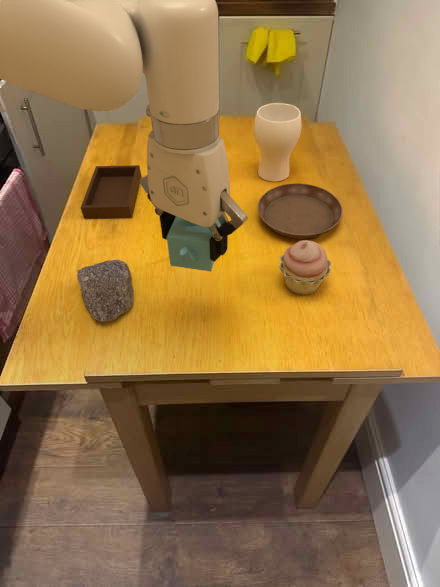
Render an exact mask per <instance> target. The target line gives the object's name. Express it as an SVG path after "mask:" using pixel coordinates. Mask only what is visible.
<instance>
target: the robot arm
mask: <svg viewBox="0 0 440 587" xmlns="http://www.w3.org/2000/svg"><path fill="white" fill-rule="evenodd" d="M219 24H220V23H219V8H218V4H217V2H216V0H0V80H1V81H4V82H6V83H8V84H9V85H13V86H15V87H18V88H19V89H22V90H26V91H28V92H31V93H33V94H37V95H39V96H42V97H45V98H47V99H50V100H52V101H56V102H58V103H61V104H64V105H67V106H70V107H73V108H77V109H81V110H86V111H93V112H109V111H114V110H117V109H119V108H121V107H123V106H125V105H126V104H127V103H129V102H130V101H131V100H133V98H134V96H135V95H136V94H137V92H138V90H139V89H140V86H141V82H142V79H143V74H144V77H145V78H144V79H145V85H146V91H147V99H148V105H147V106H146V109H145V114H146V116H147V117H150V121H151V130H150V132H148V135H147V145H146V175H144V176H143V177H141V179H140V181H139V182H140V186H141V188H142V189H143V190H144V192H145V194H147V195H146V196H147V199H148V200H149V201H150V203H151V204H152V205H153V206H154V213H155V214H156V215H157V216H159V224H160V230H161V231H160V232H161V238H162V239H163V240H166V241H167V235H168V233H169V231H170V228H171V226H172V224H173V222H174V219H175V217H176V216H177V217H179V218H182V219H184V220H187V221H189V222H192V223H194V224H197V225H199V226H202V227H208V228H209V230H210V232H211V234H212V237H211V238H210V240H209V242H210V259H211V260H212V261H214V263H215V262H217V261H218V259H219V258H220V257H221V256H224V255H225V254H226V252H227V251H228V247H229V246H228V242H229V241H228V238H229V236H230V235H232V234H234V232H236V231H237V230H238V229H239V228H241V226H243V225H244V223H246V222H247V220H248V219H249V217H248V214H247V213H246V212H245V211H244V210H243V209H242V208H241V207H240V205H238V203H237V202H236V201H235V200H234V198H232V197H231V182H230V181H231V180H230V169H229V162H228V156H227V150H226V145H225V141H224V138H222V137H220V49H219V48H220V44H219V42H220V37H219V33H220V31H219V29H220V27H219ZM228 217H229V218H230V220H229V218H228ZM217 219H218V220H219V222H220V224H221V226H220V227H218V226H217V224H216V221H217Z"/></svg>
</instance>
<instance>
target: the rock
mask: <svg viewBox="0 0 440 587" xmlns="http://www.w3.org/2000/svg"><path fill="white" fill-rule="evenodd" d="M131 275H132V274H131V269H130V266H129V265H128V263H126V262H125V261H123V260H120V259H110V260H105V261H101V262H98V263H94V264H93V265H91V264H90V265H87V266H83V267H82V268H79V269H77V270H76V277H77V281H78V285H79V287H80V292H81V297H82V301H83V302H84V305H85V308H86V309H87V310H88V311H89V313H90V315H91V317H92V318H93V319H94V320H95V321H97V322H102V323H108V322H113V321H115V320H117V319H118V318H119V316H121V315H123V314H125V313H126V312H127V311H129V310H130V309H131V307H132V306H133V303H134V302H133V301H134V300H133V298H134V297H133V296H134V288H133V286H132V276H131Z"/></svg>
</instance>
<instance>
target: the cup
mask: <svg viewBox="0 0 440 587" xmlns="http://www.w3.org/2000/svg"><path fill="white" fill-rule="evenodd" d="M301 114H302V113H301V110H300V109H299V108H298V107H297V106H295V105H293V104H289V103H285V102H273V103H272V102H271V103H267V104H263V105H262V106H260V107H259V108H258V109H257V111H256V113H255V118H254V122H253V136H254V140H255V143H256V145H257V147H258V150H259V155H260V161H259V165H258V168H257V174H258V176H259V177H260V178H261V179H263V180H265V181H268V182H281V181H285V180H286V179H287V178H288V177H290V174H291V173H290V171H291V170H290V158H291V154H292V152H293V150H294V148H295V147H296V146H297V143H298V142H299V139H300V136H301V134H302V126H303V124H302V115H301Z"/></svg>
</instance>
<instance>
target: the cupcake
mask: <svg viewBox="0 0 440 587" xmlns="http://www.w3.org/2000/svg"><path fill="white" fill-rule="evenodd" d="M279 260H280V263H279V264H278V268H279V269H280V271H281V272H282V276H283V280H284V284H285V286H286V288H287V289H288V290H289V291H290V292H292V293H295V294H296V295H301V296H305V295H311V294H313V293H314V292H316V291H317V290H319V287H320V286H321V285H322V283H323V281H325V279H326V277H327V276H328V275H330V273H331V272H332V269H331V268H330V267H331V265H332V261H331V260H329V259H328V255H327V253H326V251H325V249H324V248H323V247H322V246H321V245H320V244H319V243H317V242H316V241H313V240H309V239H302V240H299V241H298V242H296V243H295V244H291V245H290V246H288V247H287V248H286V249H285V251H284V253H283V255H280V256H279Z"/></svg>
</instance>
